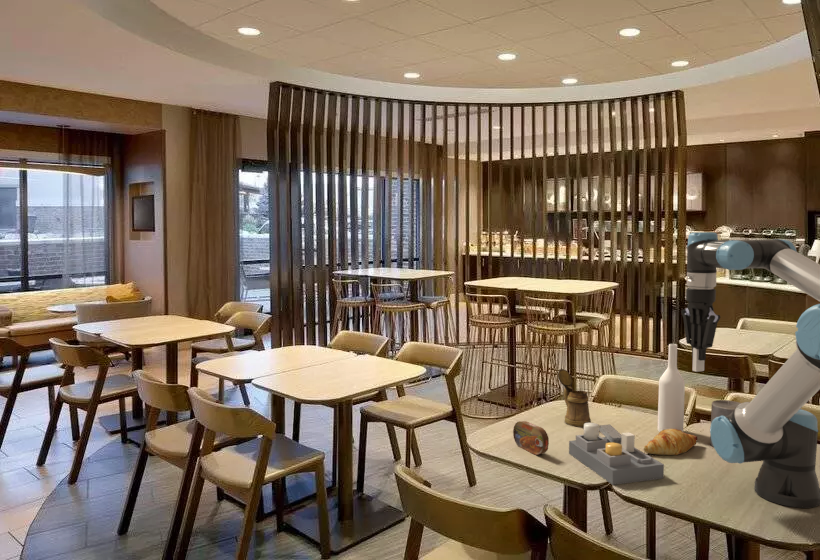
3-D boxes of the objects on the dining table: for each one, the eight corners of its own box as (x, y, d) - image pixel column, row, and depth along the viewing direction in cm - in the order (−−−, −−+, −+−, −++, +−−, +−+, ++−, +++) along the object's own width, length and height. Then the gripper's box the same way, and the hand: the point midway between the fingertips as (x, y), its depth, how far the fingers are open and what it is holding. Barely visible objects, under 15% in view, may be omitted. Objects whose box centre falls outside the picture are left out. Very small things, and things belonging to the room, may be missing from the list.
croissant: (651, 469, 191) (661, 451, 187) (630, 444, 199) (639, 426, 194) (702, 456, 200) (712, 438, 195) (679, 433, 207) (689, 416, 203)
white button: (601, 439, 188) (601, 426, 187) (588, 441, 187) (588, 428, 186) (593, 434, 192) (594, 422, 192) (580, 436, 191) (581, 423, 191)
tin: (512, 443, 204) (512, 418, 203) (520, 441, 206) (520, 416, 205) (542, 459, 191) (542, 432, 190) (550, 457, 192) (550, 430, 191)
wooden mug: (568, 414, 234) (569, 366, 232) (596, 424, 222) (597, 374, 221) (550, 418, 230) (551, 369, 228) (578, 428, 218) (578, 377, 216)
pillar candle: (712, 438, 207) (714, 394, 205) (746, 444, 201) (747, 398, 200) (707, 448, 199) (708, 402, 197) (742, 454, 193) (744, 406, 192)
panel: (663, 478, 176) (664, 455, 175) (612, 484, 172) (613, 461, 171) (614, 448, 199) (615, 428, 198) (568, 453, 195) (569, 432, 194)
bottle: (679, 428, 218) (682, 342, 215) (686, 435, 210) (689, 347, 207) (655, 427, 219) (657, 341, 216) (660, 434, 211) (663, 346, 208)
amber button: (624, 460, 176) (625, 447, 176) (610, 462, 175) (611, 448, 175) (615, 455, 181) (616, 441, 180) (602, 456, 180) (602, 443, 179)
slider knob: (634, 451, 184) (634, 435, 184) (626, 452, 184) (626, 436, 183) (629, 448, 187) (629, 432, 186) (621, 449, 186) (621, 433, 186)
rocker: (622, 442, 190) (623, 437, 190) (612, 443, 190) (613, 438, 189) (609, 429, 198) (610, 424, 197) (599, 430, 197) (599, 425, 196)
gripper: (673, 285, 181) (671, 366, 183) (706, 290, 168) (703, 377, 170) (695, 285, 183) (693, 364, 185) (729, 289, 170) (726, 375, 172)
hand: (698, 370), depth 178 cm, fingers closed
